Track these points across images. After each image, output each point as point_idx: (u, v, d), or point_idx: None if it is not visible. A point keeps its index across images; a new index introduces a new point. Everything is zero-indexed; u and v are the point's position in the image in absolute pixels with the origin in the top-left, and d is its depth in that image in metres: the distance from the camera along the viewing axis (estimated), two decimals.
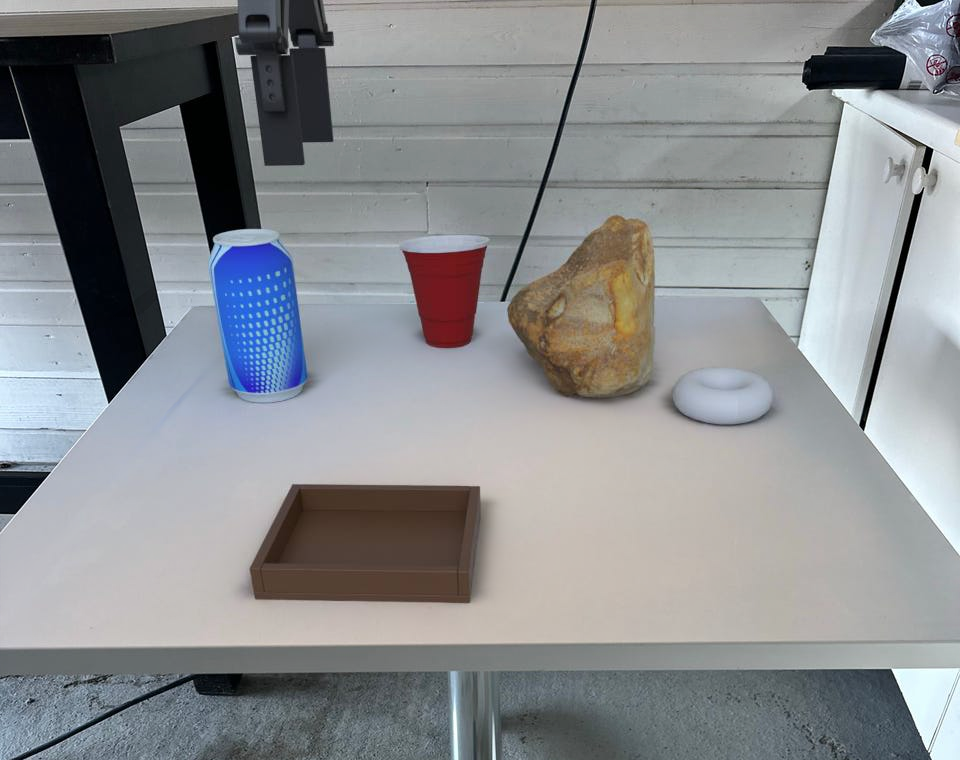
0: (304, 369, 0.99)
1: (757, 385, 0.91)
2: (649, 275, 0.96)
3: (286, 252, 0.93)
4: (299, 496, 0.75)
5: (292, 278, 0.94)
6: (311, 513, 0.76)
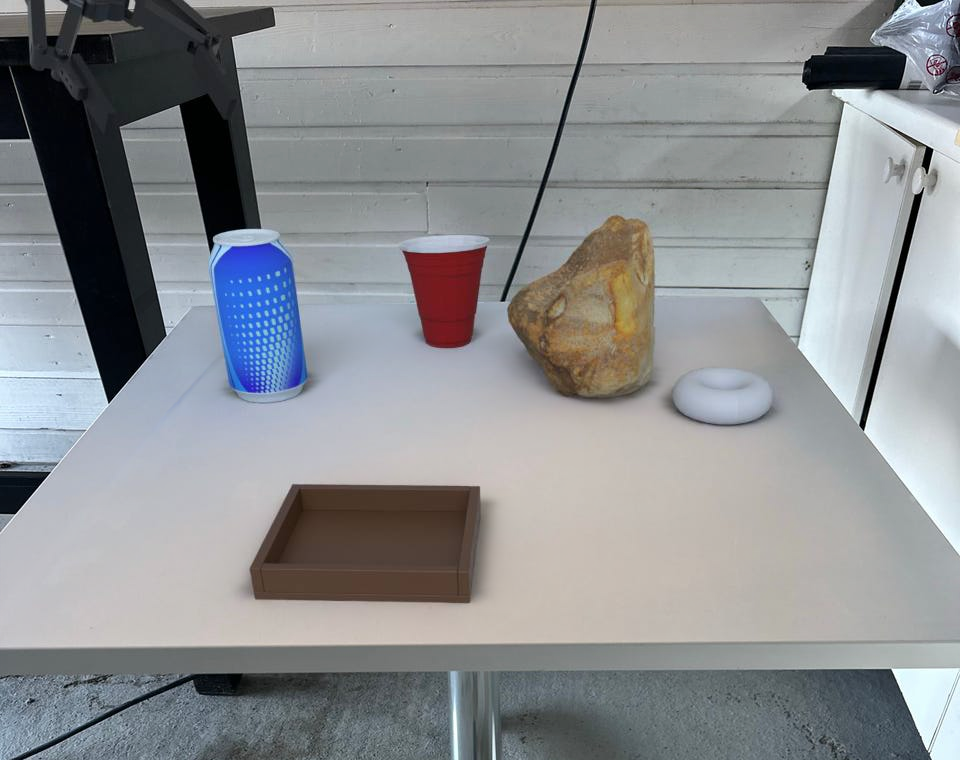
0: (304, 369, 0.99)
1: (757, 385, 0.91)
2: (649, 275, 0.96)
3: (286, 252, 0.93)
4: (299, 496, 0.75)
5: (292, 278, 0.94)
6: (311, 513, 0.76)
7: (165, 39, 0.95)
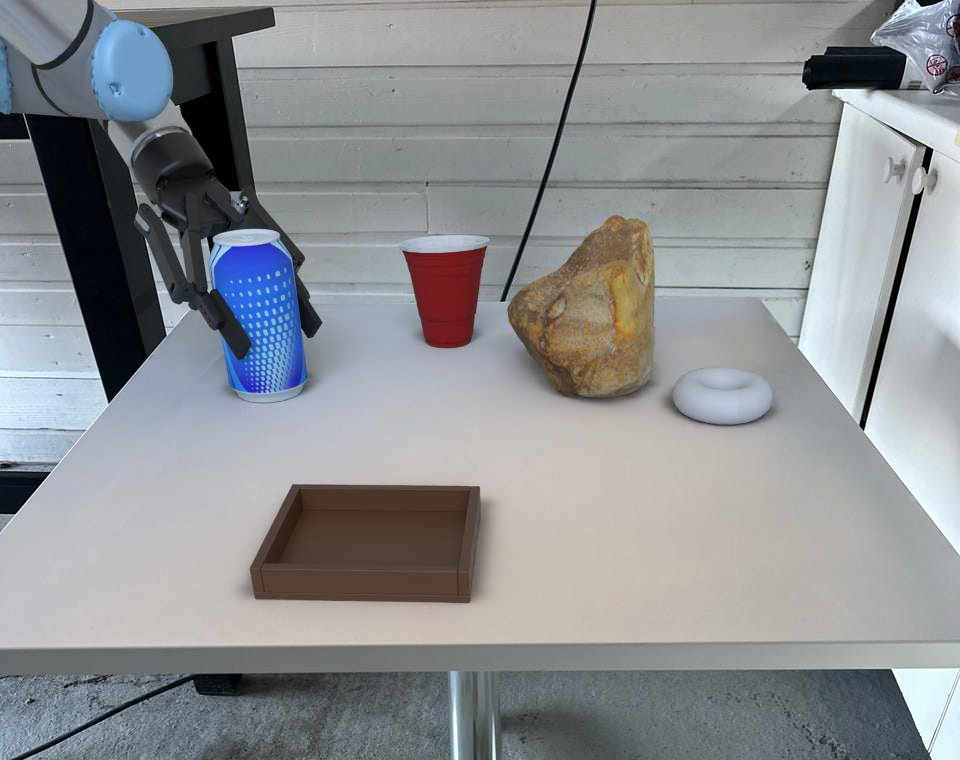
0: (304, 369, 0.99)
1: (757, 385, 0.91)
2: (649, 275, 0.96)
3: (286, 252, 0.93)
4: (299, 496, 0.75)
5: (292, 278, 0.94)
6: (311, 513, 0.76)
7: None
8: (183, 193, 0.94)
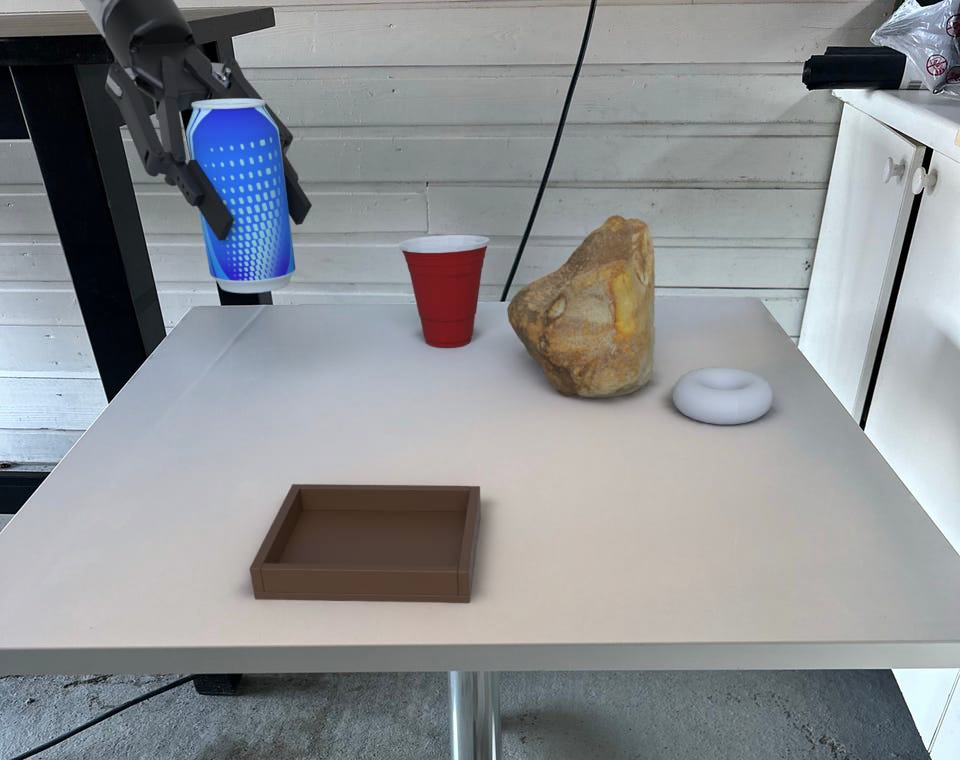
0: (291, 257, 0.91)
1: (757, 385, 0.91)
2: (649, 275, 0.96)
3: (272, 121, 0.85)
4: (299, 496, 0.75)
5: (278, 151, 0.86)
6: (311, 513, 0.76)
7: None
8: (159, 58, 0.86)
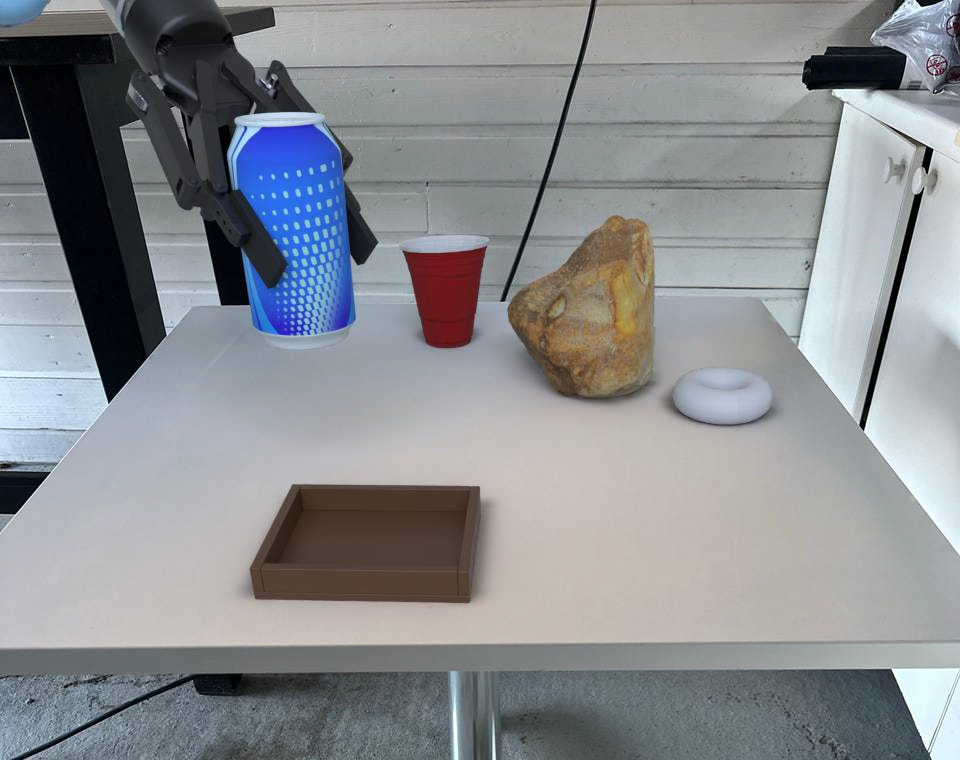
0: (352, 305, 0.75)
1: (757, 385, 0.91)
2: (649, 275, 0.96)
3: (333, 141, 0.68)
4: (299, 496, 0.75)
5: (341, 178, 0.69)
6: (311, 513, 0.76)
7: None
8: (192, 62, 0.69)
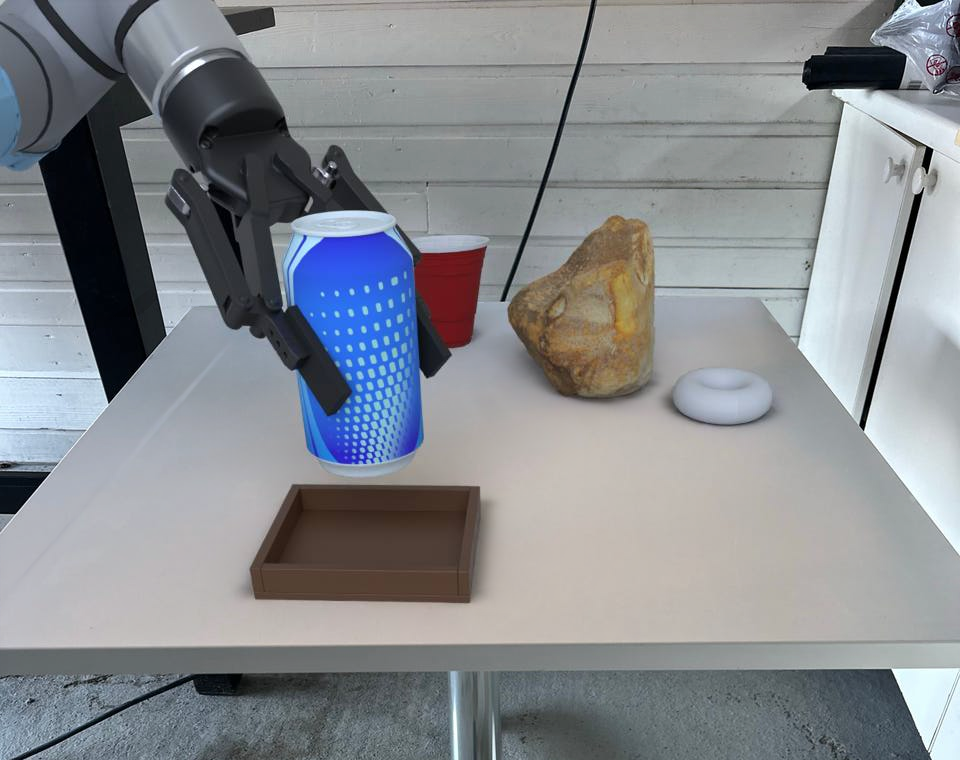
0: (421, 425, 0.65)
1: (757, 385, 0.91)
2: (649, 275, 0.96)
3: (405, 247, 0.59)
4: (299, 496, 0.75)
5: (413, 288, 0.60)
6: (311, 513, 0.76)
7: None
8: (241, 155, 0.60)
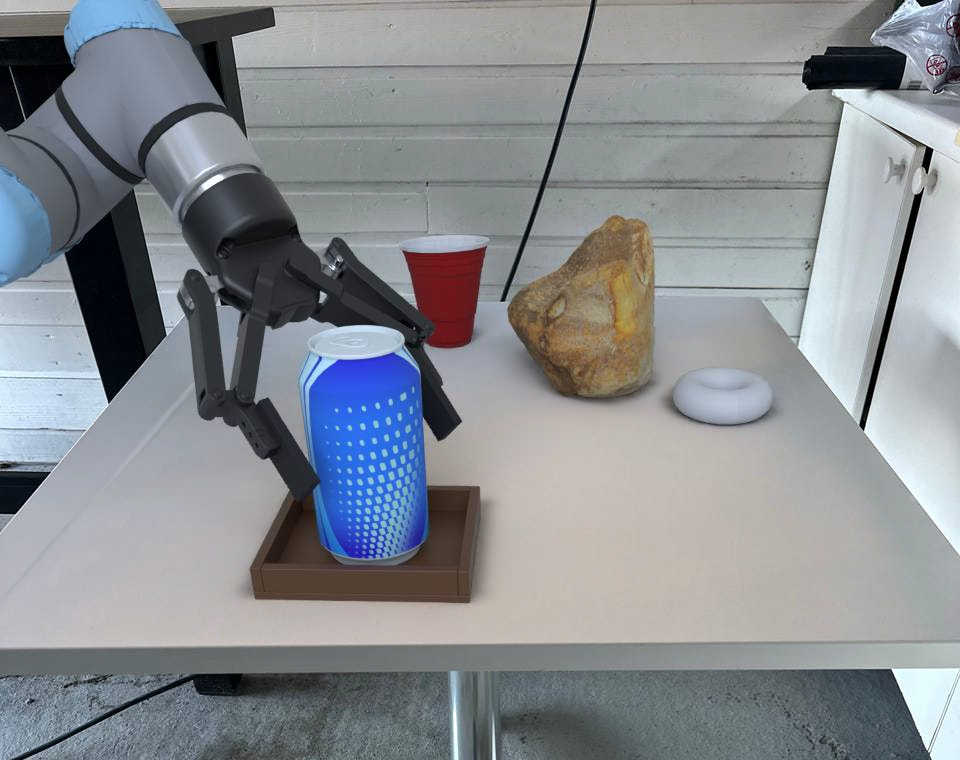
0: (427, 519, 0.69)
1: (757, 385, 0.91)
2: (649, 275, 0.96)
3: (413, 362, 0.63)
4: None
5: (420, 399, 0.64)
6: (311, 513, 0.76)
7: None
8: (255, 262, 0.64)
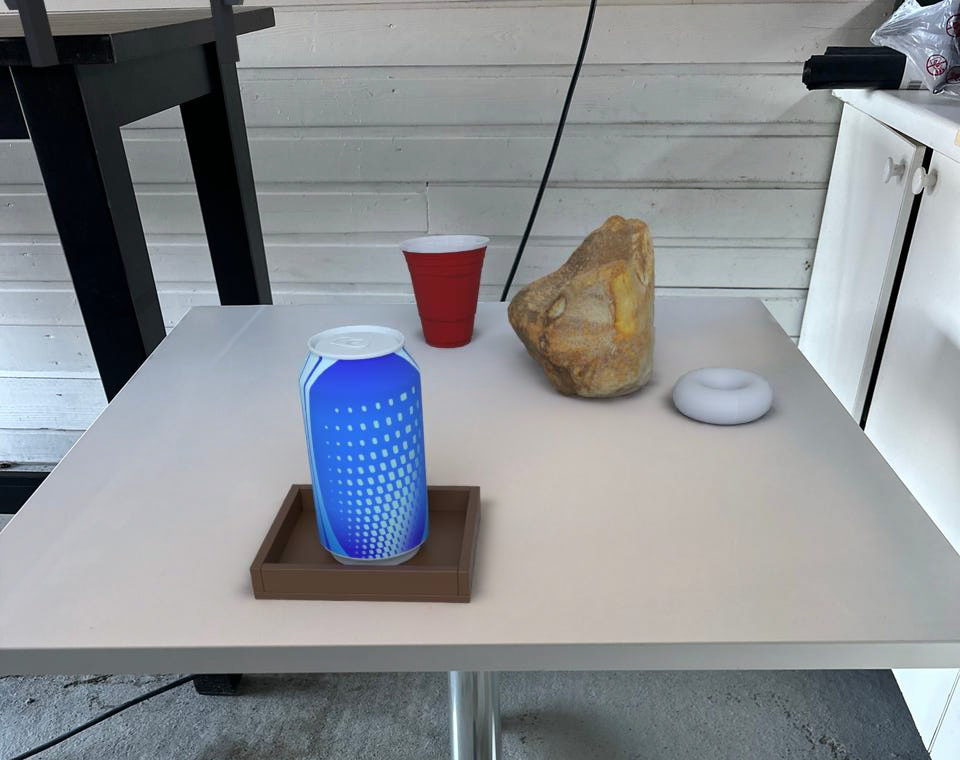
0: (427, 519, 0.69)
1: (757, 385, 0.91)
2: (649, 275, 0.96)
3: (413, 362, 0.63)
4: (299, 496, 0.75)
5: (420, 399, 0.64)
6: (311, 513, 0.76)
7: None
8: None
